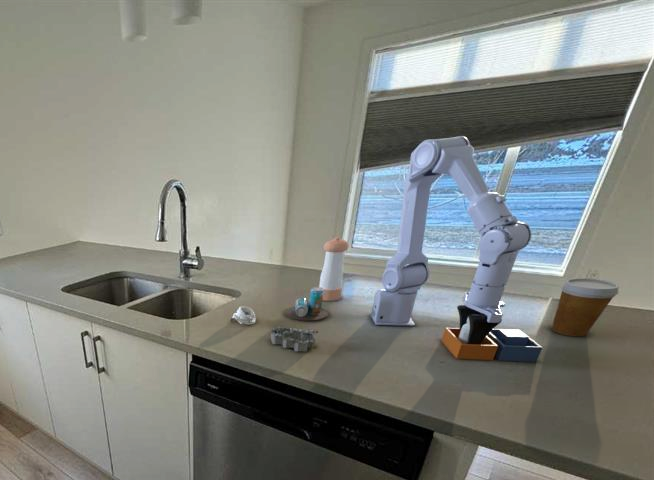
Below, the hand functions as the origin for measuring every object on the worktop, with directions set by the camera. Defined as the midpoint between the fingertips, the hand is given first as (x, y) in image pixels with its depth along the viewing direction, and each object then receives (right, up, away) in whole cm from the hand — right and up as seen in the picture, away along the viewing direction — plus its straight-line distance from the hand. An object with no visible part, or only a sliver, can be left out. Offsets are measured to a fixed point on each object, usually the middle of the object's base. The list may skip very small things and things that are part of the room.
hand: (469, 340), depth 94 cm
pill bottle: (0, -2, +1) cm, 2 cm away
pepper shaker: (-15, +18, +40) cm, 46 cm away
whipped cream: (-46, +8, +28) cm, 54 cm away
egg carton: (-37, 0, +12) cm, 39 cm away
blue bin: (+8, -3, -1) cm, 8 cm away
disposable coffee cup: (+29, +3, +5) cm, 29 cm away
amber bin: (0, -2, +1) cm, 2 cm away
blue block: (+8, -2, -1) cm, 8 cm away
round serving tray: (-27, +11, +29) cm, 41 cm away
